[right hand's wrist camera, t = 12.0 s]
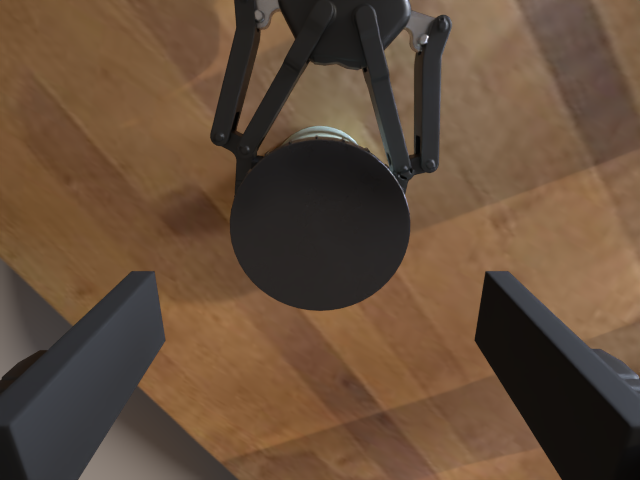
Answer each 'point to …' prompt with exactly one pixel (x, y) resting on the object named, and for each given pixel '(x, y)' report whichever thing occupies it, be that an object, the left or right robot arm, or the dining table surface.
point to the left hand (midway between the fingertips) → (312, 248)
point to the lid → (320, 223)
